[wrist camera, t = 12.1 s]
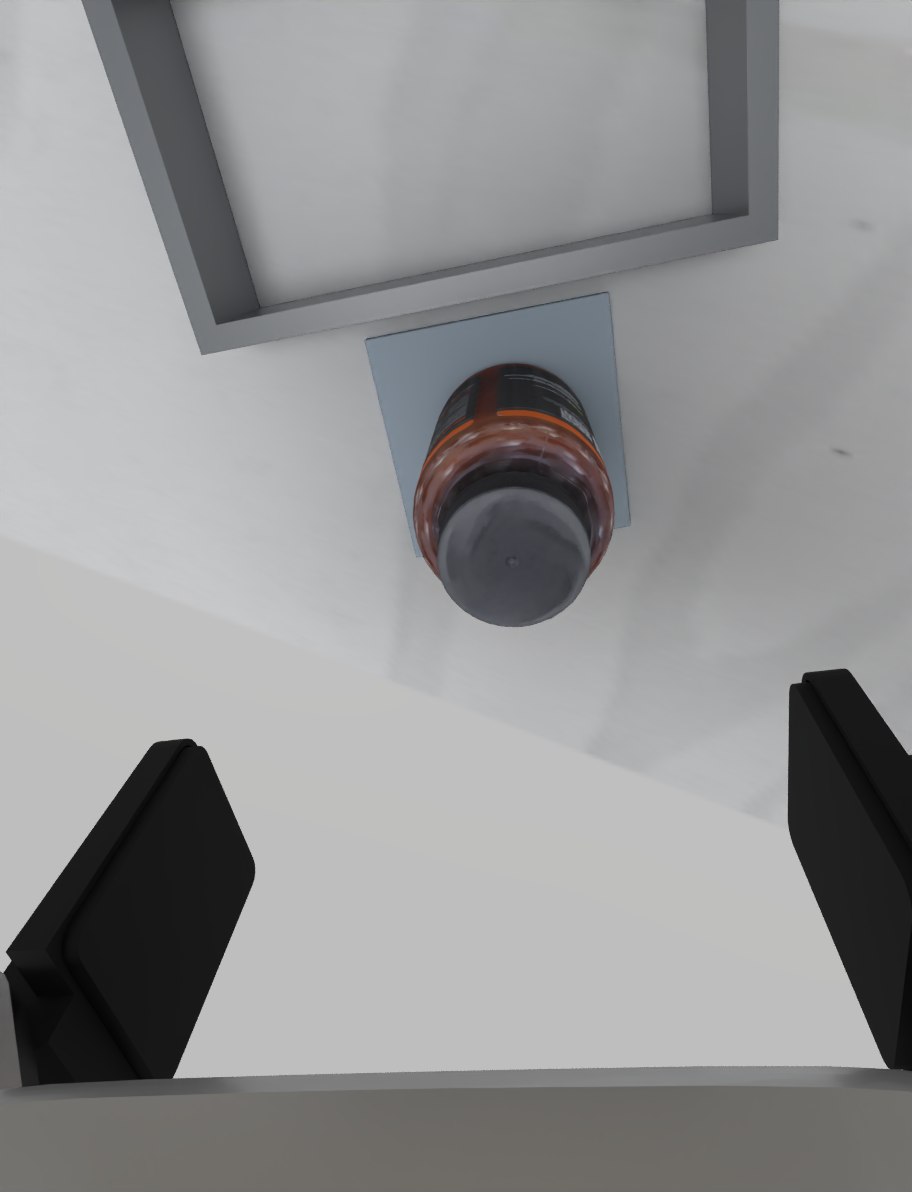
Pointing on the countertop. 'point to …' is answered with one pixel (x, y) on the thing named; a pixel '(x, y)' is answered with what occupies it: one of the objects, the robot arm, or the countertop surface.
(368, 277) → the countertop surface
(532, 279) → the case
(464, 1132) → the robot arm
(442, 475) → the supplement bottle
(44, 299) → the countertop surface
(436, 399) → the mat
